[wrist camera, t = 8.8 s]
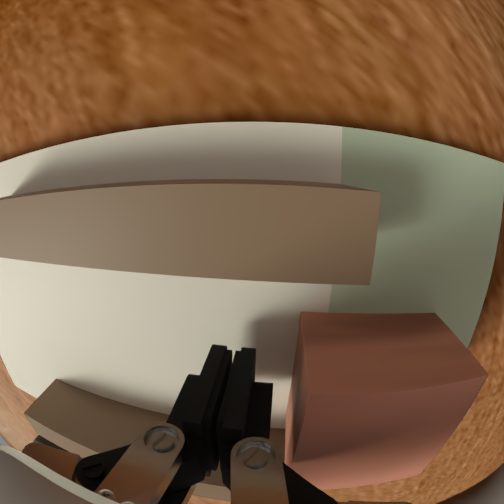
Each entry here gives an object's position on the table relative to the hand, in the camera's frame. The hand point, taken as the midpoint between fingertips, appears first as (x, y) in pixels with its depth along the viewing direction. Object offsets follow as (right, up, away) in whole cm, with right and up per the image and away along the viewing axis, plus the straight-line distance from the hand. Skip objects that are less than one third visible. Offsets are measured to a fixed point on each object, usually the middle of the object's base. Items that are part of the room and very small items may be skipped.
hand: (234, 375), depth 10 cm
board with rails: (-4, +1, +3) cm, 6 cm away
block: (+5, 0, +1) cm, 5 cm away
